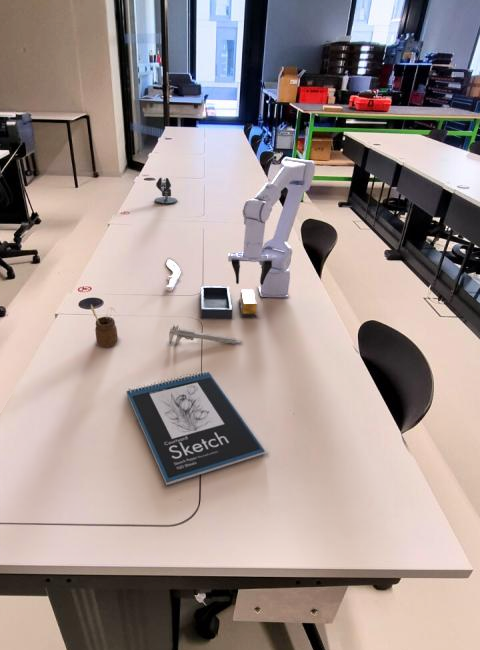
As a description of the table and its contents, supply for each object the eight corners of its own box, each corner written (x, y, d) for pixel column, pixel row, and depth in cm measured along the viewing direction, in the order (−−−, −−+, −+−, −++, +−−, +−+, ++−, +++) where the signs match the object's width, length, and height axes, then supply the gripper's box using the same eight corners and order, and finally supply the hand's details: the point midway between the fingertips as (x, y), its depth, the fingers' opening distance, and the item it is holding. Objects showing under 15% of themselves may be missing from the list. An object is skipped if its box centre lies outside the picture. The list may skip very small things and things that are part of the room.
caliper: (169, 345, 125) (168, 326, 122) (169, 343, 126) (168, 324, 122) (240, 343, 127) (241, 325, 123) (239, 341, 128) (241, 323, 124)
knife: (168, 256, 178) (187, 258, 177) (168, 260, 178) (187, 262, 178) (150, 285, 152) (172, 287, 152) (150, 290, 153) (172, 291, 152)
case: (228, 295, 152) (228, 286, 151) (231, 318, 139) (232, 309, 137) (200, 294, 152) (200, 286, 150) (201, 318, 138) (201, 309, 137)
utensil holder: (118, 347, 123) (114, 309, 116) (95, 348, 122) (90, 310, 116) (118, 336, 128) (114, 299, 121) (96, 337, 127) (91, 300, 120)
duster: (252, 302, 149) (253, 289, 146) (256, 317, 140) (257, 304, 137) (239, 301, 149) (240, 288, 146) (242, 317, 140) (243, 304, 137)
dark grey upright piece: (152, 207, 237) (151, 182, 230) (155, 198, 254) (155, 174, 247) (176, 208, 238) (175, 183, 231) (177, 198, 254) (177, 175, 247)
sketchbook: (166, 486, 84) (166, 479, 83) (125, 394, 106) (125, 387, 105) (264, 454, 91) (265, 447, 90) (207, 374, 114) (207, 367, 113)
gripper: (230, 244, 128) (227, 287, 135) (279, 246, 128) (273, 289, 136) (229, 236, 134) (226, 278, 141) (276, 238, 134) (270, 279, 142)
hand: (249, 283), depth 139 cm, fingers open, 7 cm apart
